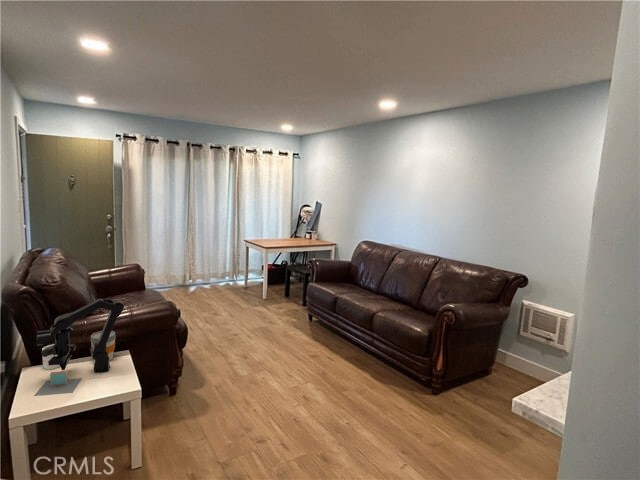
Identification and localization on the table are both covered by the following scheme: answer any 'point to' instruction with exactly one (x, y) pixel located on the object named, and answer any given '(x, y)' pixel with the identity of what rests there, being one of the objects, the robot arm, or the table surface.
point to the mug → (46, 359)
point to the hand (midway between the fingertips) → (63, 369)
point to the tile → (59, 377)
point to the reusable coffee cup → (109, 345)
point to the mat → (58, 387)
